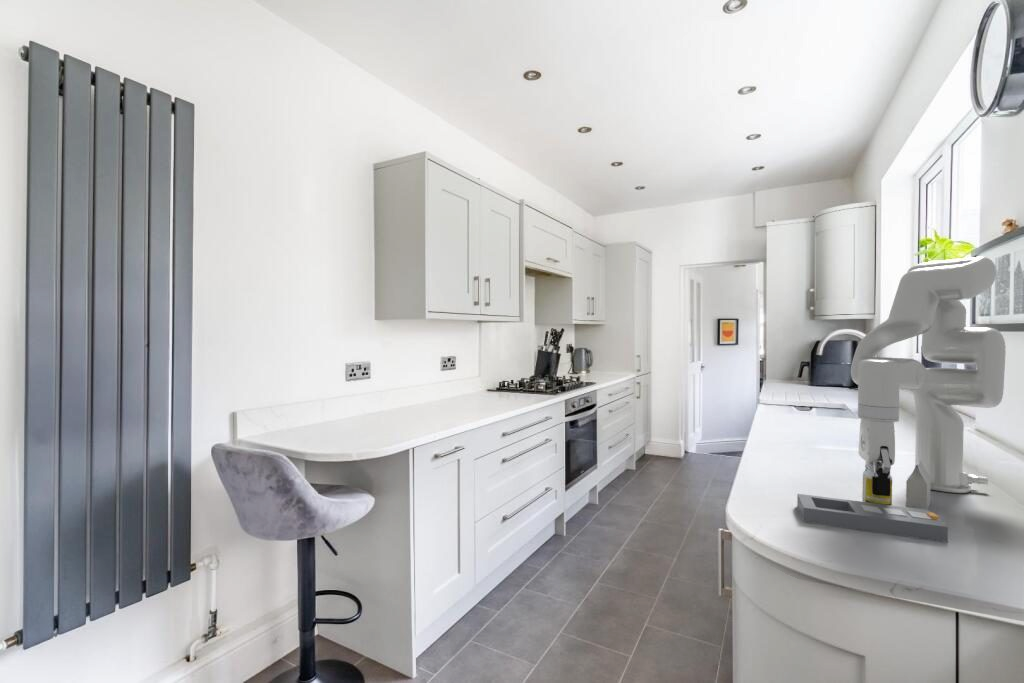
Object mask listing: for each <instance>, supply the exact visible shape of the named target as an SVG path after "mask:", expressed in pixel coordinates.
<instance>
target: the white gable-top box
mask: <svg viewBox="0 0 1024 683" xmlns="http://www.w3.org/2000/svg"><path fill="white" fill-rule="evenodd" d="M909 476H910V477H909V478H908V477H907V480H906V486H905V487H906V489H905V491H906V492H905V496H906V497H905V507H909V508H918V509H926V510H929V507H930V505H931V496H932V494H931V478H930V477H929V475H928V473H927V471H926V470H925V468H924V466H923V464H922V460H921V461H920V460H919V462H918V463H917V464H916V466H915V465H914V469H913V471H912V472H911V474H910V475H909Z"/></svg>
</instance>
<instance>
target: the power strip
mask: <svg viewBox="0 0 1024 683" xmlns="http://www.w3.org/2000/svg"><path fill="white" fill-rule="evenodd" d="M796 497H797V499H796V500H797V501H796V502H797V504H796V507H797V509H798V511H799V513H800V517H801V518H802V521H803V522H805V523H810V524H818V525H825V526H831V527H832V526H833V527H838V528H846V529H853V530H858V531H859V530H860V531H865V532H866V531H868V532H872V533H880V534H886V535H887V534H888V535H893V534H894V535H895V536H900V537H908V538H915V539H921V540H928V541H930V540H931V541H936V542H943V543H948V542H949V526H948V525H947V524H945V523H944V522H943V521H942V520H940V519H939V516H938V515H937V514H936V513H935V512H931V511H930V510H929V509H927V510H926V509H918V508H914V507H909V506H899V505H893V504H892V505H885V504H877V503H869V502H863V501H862V500H861V501H858V500H852V499H851V500H850V499H843V498H837V497H835V498H834V497H827V496H821V495H820V496H819V495H812V494H811V495H810V494H804V493H803V494H802V493H797V496H796Z"/></svg>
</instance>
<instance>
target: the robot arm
mask: <svg viewBox="0 0 1024 683" xmlns="http://www.w3.org/2000/svg"><path fill="white" fill-rule="evenodd" d="M996 279H997V268H996V265H995V263H994V261H993V260H992V259H991V258H989V257H985V256H976V257H975V256H973V257H965V258H956V259H945V260H944V259H943V260H933V261H928V262H922V263H918V264H915V265H913V266H911V267H910V268H909V269H908V270H907V271H906V273H904V275H902V277H901V278H900V280H899V284H898V286H897V290H896V292H895V295H894V298H893V299H894V300H893V301H892V306H891V309H890V312H889V315H888V318H887V319H886V320H884V321H883V322H882V323H880V324H878V325H877V326H875V327H874V328H873V329H872V330H870V331H869V332H868V333H867V334H866V335H865V336H863V338H862V339H861V340H860V341H859V343H858V344H857V346H856V349H855V352H854V355H853V358H852V362H851V366H850V376H851V379H852V381H853V383H855V384H856V385H857V418H858V419H860V422H859V424H860V425H859V436H858V437H859V438H858V451H857V452H858V456H860V458H861V459H863V461H865V466H864V467H865V468H864V471H866V470H868V468H867V463H869V464H871V463H872V462H873V468H874V476H872V493H873V494H874V495H881V496H890V478H891V476H892V475H891V469H892V466H894V465H895V463H896V462H895V461H896V435H895V432H896V430H895V423H897V422H900V391H912V394H913V399H914V405H915V406H914V407H915V444H914V446H915V447H914V448H915V449H914V450H915V453H914V454H915V455H914V457H915V458H914V467H915V466H916V464H917V463H918V462H919V460H920V461H921V460H922V464H923V466H924V468H925V470H926V471H927V473H928V475H929V477H930V478H931V490H933V491H938V492H944V493H954V494H964V493H965V494H966V493H970V492H971V491H972V487H971V485H972V484H977V485H986V486H987V485H989V479H988V477H986V476H980V475H979V476H977V475H975V474H968V473H967V472H965V471H964V431H965V430H964V428H965V427H964V421H963V419H962V417H961V415H960V414H959V413H958V412H957V411H956V409H955V408H954V407H953V406H959V407H969V408H980V409H981V408H982V409H983V408H985V409H993V408H996V407H998V406H999V405H1000V404H1001V403H1002V399H1003V396H1004V389H1005V388H1004V387H1005V372H1006V371H1005V369H1006V341H1005V337H1004V335H1003V334H1002V332H1000V331H999V330H998V329H996V328H993V327H985V326H983V327H981V326H980V327H978V326H976V327H973V326H972V327H970V326H968V327H967V326H966V322H967V309H966V306H965V305H964V304H963V303H962V301H964V300H965V301H966V300H970V299H973V298H975V297H977V296H978V295H981V294H982V293H984V292H985V291H987V290H989V289H990V288H991V287H992V286H993V285H994V282H995V281H996ZM961 300H962V301H961ZM920 335H922V336H921V354H922V356H923V358H924V359H925V360H926V361H928V362H933V363H939V364H940V363H941V364H955V365H957V364H958V365H974V366H975V367H976V369H968V368H967V369H965V368H964V369H963V368H949V367H926V366H925V365H924V364H923V363H922V362H920V361H919V360H916V359H913V358H907V357H906V358H903V357H902V358H901V357H885V356H883V357H882V356H881V357H880V356H879V357H878V356H877V354H879V353H880V352H881V351H882V350H883V349H885V348H886V347H888V346H891V345H893V344H895V343H899V342H902V341H906V340H908V339H912V338H914V337H917V336H920ZM876 461H878V462H882V464H881V463H876ZM878 466H879V467H882V468H879V469H878ZM890 475H891V476H890ZM909 477H910V475H908V476H907V479H908V478H909Z"/></svg>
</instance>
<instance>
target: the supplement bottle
mask: <svg viewBox="0 0 1024 683" xmlns="http://www.w3.org/2000/svg"><path fill="white" fill-rule="evenodd" d="M876 463H881V464H882V462H878V461H876ZM867 468H868V469H867V470H866V471H865V470H864V471H863V473H862V493H861V494H862V496H861V497H862V500H861V502H869V503H877V504H885V505H893V504H892V503H893V476H892V475H891V474H890V476H891V478H890V496H881V495H874V494H873V493H872V476H874V468H873V462H872V463H871V464H869V463H867ZM879 468H882V467H879V466H878V469H879Z"/></svg>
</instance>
